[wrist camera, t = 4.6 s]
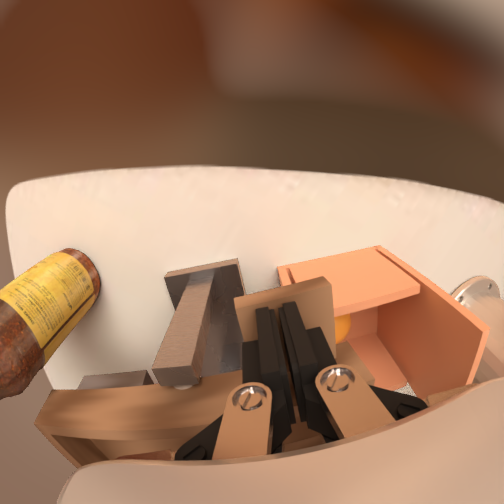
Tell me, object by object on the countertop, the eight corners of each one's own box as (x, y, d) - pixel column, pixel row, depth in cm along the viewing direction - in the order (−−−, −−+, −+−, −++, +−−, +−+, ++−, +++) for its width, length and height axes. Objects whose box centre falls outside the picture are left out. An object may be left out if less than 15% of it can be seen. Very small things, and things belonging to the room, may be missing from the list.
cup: (379, 245, 22) (490, 327, 9) (379, 331, 25) (448, 433, 12) (277, 267, 23) (315, 395, 9) (292, 353, 26) (320, 480, 12)
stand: (237, 258, 22) (231, 349, 11) (264, 369, 26) (273, 470, 15) (167, 271, 23) (111, 360, 11) (206, 377, 26) (192, 475, 15)
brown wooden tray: (324, 254, 14) (379, 300, 9) (334, 401, 18) (362, 456, 13) (38, 317, 13) (-8, 367, 8) (115, 436, 17) (102, 489, 11)
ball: (343, 285, 23) (356, 309, 19) (345, 324, 24) (356, 350, 20) (297, 294, 23) (302, 319, 19) (302, 332, 24) (307, 360, 20)
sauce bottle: (52, 239, 21) (-107, 345, 3) (104, 253, 22) (-63, 408, 3) (55, 298, 23) (-63, 422, 4) (103, 316, 24) (-6, 477, 5)
